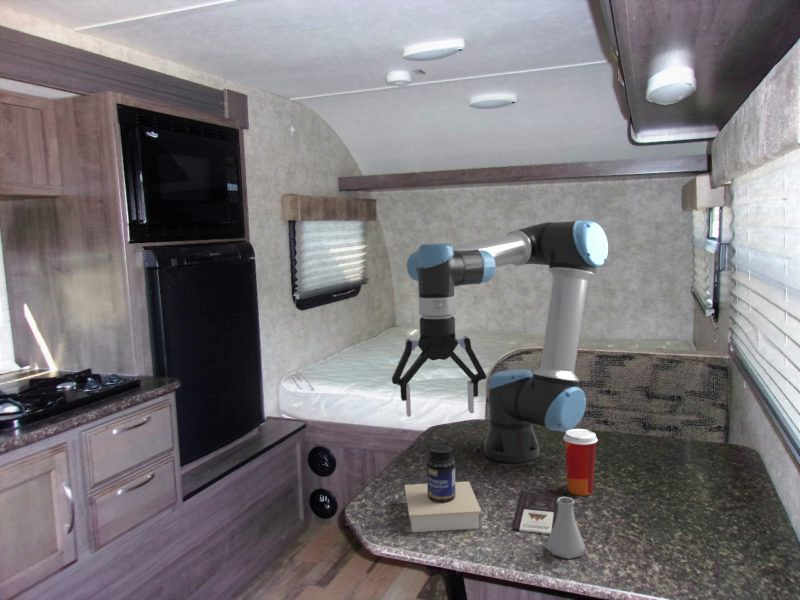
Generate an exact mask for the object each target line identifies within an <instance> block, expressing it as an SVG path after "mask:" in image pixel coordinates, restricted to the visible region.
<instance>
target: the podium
mask: <svg viewBox="0 0 800 600" xmlns="http://www.w3.org/2000/svg"><path fill="white" fill-rule="evenodd" d="M404 490H405V491H404V492H405V499H406V505H407V511H408V517H409V521H410V528H411V533H425V532H427V533H428V532H439V531H440V532H441V531H458V530H473V529H474V530H477V529H480V514H482V509H481V507H480V504H479V502H478V500H477V497H476V495H475V493H474V490H473V488H472V485H471V483H470V481H455V494H456V495H455V498H454V499H453V500H452V501H448V502H435V501H432V500H430V499H429V497H428V484H427V483H417V484H416V483H415V484H404Z"/></svg>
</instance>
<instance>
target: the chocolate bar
mask: <svg viewBox="0 0 800 600" xmlns="http://www.w3.org/2000/svg"><path fill="white" fill-rule="evenodd" d="M559 497H563V495H562V494H553V493H552V494H550V493H542V492H541V493H540V492H530V491H521V494H520V499H519V503H518V507H517V511H516V515H515V519H514V523H513V527H512V531H513V530H517V531H516V532H521V531H524V532H523V533H529V532H533V533H532V534H538V533H541V534H540V535H546V534H549V535H548V536H550V535H551V532H552V530H553V527H554V524H555V522H556V519H557V514H558V503H557V499H558V498H559Z"/></svg>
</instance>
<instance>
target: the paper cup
mask: <svg viewBox="0 0 800 600" xmlns="http://www.w3.org/2000/svg"><path fill="white" fill-rule="evenodd" d="M563 440H564V447H565V462H566V463H565V467H566V479H567V482H566V483H567V490H568V492H569V493H570V494H573V495H575V496H579V497H580V496H581V497H582V496H583V497H586V496H587V497H588V496H590V495H592V494H593V492H594V491H593V490H594V480H595V468H596V467H595V466H596V449H597V442H599V441H598V440H599V439H598V438H597V435H596V432H593V431H591V430H589V429H585V428H573V429H571V430H568V431H565V434H564V435H563Z"/></svg>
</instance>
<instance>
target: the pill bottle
mask: <svg viewBox="0 0 800 600" xmlns="http://www.w3.org/2000/svg"><path fill="white" fill-rule="evenodd" d="M452 450H453V449H452V447H451V446H449V445H447V444H446V445H445V444H437V445H433V446H431V447H430V449H429V455H430V457H429V458H428V459H427V461H426V466H427V467H426V474H427V475H426V477H427V479H426V480H427V482H426V484H428V497H429V499H430V500H432V501H435V502H448V501H452V500H453V499H454V498H455V495H456V494H455V482H456V461H455V460H454V458H453V457H452V455H453V451H452Z"/></svg>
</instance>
